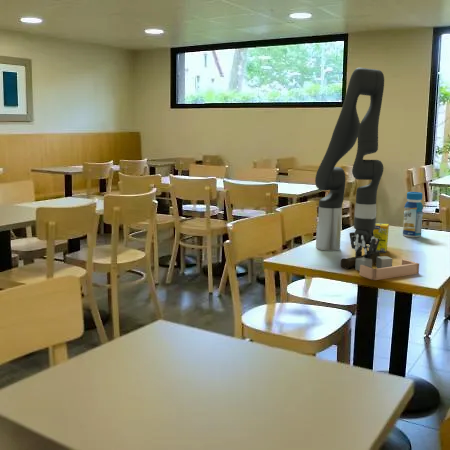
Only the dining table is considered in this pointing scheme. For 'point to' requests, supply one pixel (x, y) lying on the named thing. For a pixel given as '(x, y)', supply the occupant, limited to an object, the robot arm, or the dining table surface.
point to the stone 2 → (383, 262)
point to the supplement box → (381, 236)
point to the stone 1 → (363, 263)
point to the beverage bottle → (413, 215)
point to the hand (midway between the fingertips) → (362, 262)
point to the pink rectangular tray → (390, 270)
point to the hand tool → (351, 261)
